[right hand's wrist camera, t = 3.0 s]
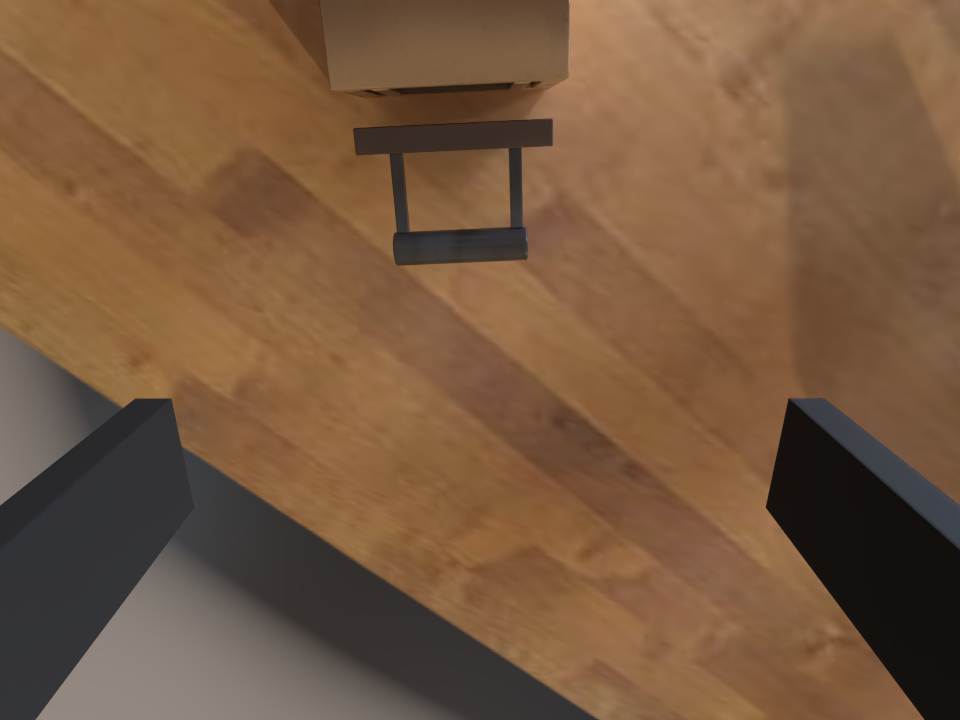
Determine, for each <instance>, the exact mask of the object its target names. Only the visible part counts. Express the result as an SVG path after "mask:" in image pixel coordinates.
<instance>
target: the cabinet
mask: <svg viewBox="0 0 960 720" xmlns="http://www.w3.org/2000/svg"><path fill="white" fill-rule="evenodd" d="M319 3H320V11H321V19H322V27H323V35H324V43H325V51H326V59H327V67H328V75H329V83H330V89H331V90H333V91H338V92H342V93H346V94H350V95H355V96H359V97H364V98H376V97H396V96H388V95H385V94H382V93H379V92H375V91H372V90H373V89H393V88H413V87H433V86H453V85H473V84H493V83H513V82H530V83H529V84H528V85H527V86H526V87H525V88H524V89H521V90H536V89H549V88H551V87H553V86H555V85H557V84H558V83H560V82H562V81H564V80H566V79H568V78H569V46H570V0H319ZM501 91H516V90H501ZM481 92H496V91H481ZM461 93H476V92H461ZM441 94H456V93H441ZM421 95H436V94H421ZM401 96H416V95H401Z"/></svg>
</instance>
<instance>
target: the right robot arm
mask: <svg viewBox="0 0 960 720" xmlns="http://www.w3.org/2000/svg"><path fill="white" fill-rule="evenodd" d="M193 508H194V504H193V500H192V495H191V490H190V485H189V481H188V476H187V471H186V466H185V461H184V457H183V452H182V447H181V442H180V438H179V433H178V428H177V423H176V418H175V414H174V409H173V404H172V399H134V400H133V401H132V402H130V403H129V404H128V405H127V406H125V407H124V408H123V409H122V410H120V411H119V412H118V413H117V414H115V415H114V416H113V417H112V418H110V419H109V420H108V421H107V422H105V423H104V424H103V425H101V426H100V427H99V428H98V429H96V430H95V431H94V432H93V433H91V434H90V435H89V436H88V437H86V438H85V439H84V440H82V441H81V442H80V443H79V444H77V445H76V446H75V447H74V448H72V449H71V450H70V451H69V452H67V453H66V454H65V455H64V456H62V457H61V458H60V459H59V460H57V461H56V462H55V463H53V464H52V465H51V466H50V467H48V468H47V469H46V470H45V471H43V472H42V473H41V474H40V475H38V476H37V477H36V478H35V479H33V480H32V481H31V482H30V483H28V484H27V485H26V486H24V487H23V488H22V489H21V490H19V491H18V492H17V493H16V494H14V495H13V496H12V497H11V498H9V499H8V500H7V501H5V502H4V503H3V504H2V505H0V720H36V718H37V717H38V716H39V714H40V713H41V712H42V710H43V709H44V707H45V706H46V705H47V703H48V702H49V701H50V699H51V698H52V697H53V695H54V694H55V693H56V691H57V690H58V689H59V687H60V686H61V685H62V683H63V682H64V681H65V679H66V678H67V677H68V675H69V674H70V673H71V671H72V670H73V669H74V667H75V666H76V665H77V663H78V662H79V661H80V659H81V658H82V657H83V655H84V654H85V653H86V651H87V650H88V649H89V647H90V646H91V645H92V643H93V642H94V641H95V639H96V638H97V637H98V635H99V634H100V633H101V631H102V630H103V629H104V627H105V626H106V625H107V623H108V622H109V621H110V619H111V618H112V617H113V615H114V614H115V613H116V611H117V610H118V609H119V607H120V606H121V605H122V603H123V602H124V601H125V599H126V598H127V596H128V595H129V594H130V593H131V591H132V590H133V589H134V587H135V586H136V585H137V583H138V582H139V581H140V579H141V578H142V577H143V575H144V574H145V573H146V571H147V570H148V569H149V567H150V566H151V565H152V563H153V562H154V561H155V559H156V558H157V557H158V555H159V554H160V553H161V551H162V550H163V548H164V547H165V546H166V544H167V543H168V542H169V540H170V539H171V538H172V536H173V535H174V534H175V532H176V531H177V530H178V528H179V527H180V526H181V524H182V523H183V522H184V520H185V519H186V518H187V516H188V515H189V514H190V512H191V511H192V510H193ZM766 508H767V510H768V511H769V512H770V514H771V515H772V516H773V518H774V519H775V520H776V522H777V523H778V524H779V526H780V527H781V528H782V530H783V531H784V532H785V534H786V535H787V536H788V538H789V539H790V540H791V542H792V543H793V544H794V546H795V547H796V549H797V550H798V551H799V553H800V554H801V555H802V557H803V558H804V559H805V561H806V562H807V563H808V565H809V566H810V567H811V569H812V570H813V571H814V573H815V574H816V575H817V577H818V578H819V579H820V581H821V582H822V583H823V585H824V586H825V587H826V589H827V590H828V591H829V593H830V594H831V595H832V597H833V598H834V599H835V601H836V602H837V603H838V605H839V606H840V607H841V609H842V610H843V611H844V613H845V614H846V615H847V617H848V618H849V619H850V621H851V622H852V623H853V625H854V626H855V627H856V629H857V630H858V631H859V633H860V634H861V635H862V637H863V638H864V639H865V641H866V642H867V643H868V645H869V646H870V647H871V649H872V650H873V651H874V653H875V654H876V655H877V657H878V658H879V659H880V661H881V662H882V663H883V665H884V666H885V667H886V669H887V670H888V671H889V673H890V674H891V675H892V677H893V678H894V679H895V681H896V682H897V683H898V685H899V686H900V687H901V689H902V690H903V691H904V693H905V694H906V695H907V697H908V698H909V699H910V701H911V702H912V703H913V705H914V706H915V708H916V709H917V710H918V712H919V713H920V714H921V716H922V717H923V718H924V720H960V505H958V504H957V503H956V502H955V501H953V500H952V499H951V498H949V497H948V496H947V495H946V494H944V493H943V492H942V491H941V490H939V489H938V488H937V487H936V486H934V485H933V484H932V483H931V482H929V481H928V480H927V479H925V478H924V477H923V476H922V475H920V474H919V473H918V472H917V471H915V470H914V469H913V468H912V467H910V466H909V465H908V464H907V463H905V462H904V461H903V460H901V459H900V458H899V457H898V456H896V455H895V454H894V453H893V452H891V451H890V450H889V449H888V448H886V447H885V446H884V445H883V444H881V443H880V442H879V441H878V440H876V439H875V438H874V437H872V436H871V435H870V434H869V433H867V432H866V431H865V430H864V429H862V428H861V427H860V426H859V425H857V424H856V423H855V422H854V421H852V420H851V419H850V418H848V417H847V416H846V415H845V414H843V413H842V412H841V411H840V410H838V409H837V408H836V407H835V406H833V405H832V404H831V403H830V402H828V401H827V400H826V399H788V404H787V409H786V414H785V418H784V423H783V428H782V433H781V438H780V442H779V447H778V452H777V457H776V461H775V466H774V471H773V476H772V480H771V485H770V490H769V495H768V500H767V504H766Z"/></svg>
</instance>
